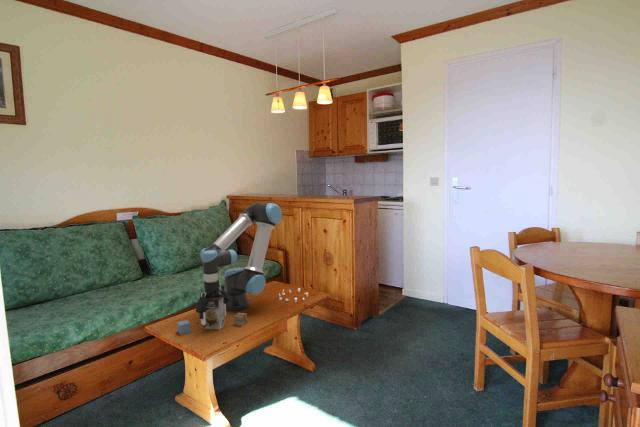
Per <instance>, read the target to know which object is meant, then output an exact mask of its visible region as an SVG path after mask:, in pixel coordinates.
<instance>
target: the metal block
mask: <svg viewBox="0 0 640 427" xmlns="http://www.w3.org/2000/svg"><path fill="white" fill-rule="evenodd" d="M247 323H248V314H247V313H244V312H237V313H236V314H235V315H233V325H234V326H239V327H244V326H245V325H246V324H247Z"/></svg>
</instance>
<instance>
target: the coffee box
mask: <svg viewBox="0 0 640 427" xmlns="http://www.w3.org/2000/svg"><path fill="white" fill-rule="evenodd" d="M207 298H208V297H207ZM204 312H205V320H206V325H203V329H204V330H221V329H222V328H223V327H224V326H225V316H224V305H223V296H222V295H221V296H220V297H219V296H216V297H215V298H212V299H211V300H210V301H209V302H208V304H207V306H206V308H205V310H204Z"/></svg>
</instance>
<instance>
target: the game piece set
mask: <svg viewBox="0 0 640 427" xmlns="http://www.w3.org/2000/svg"><path fill="white" fill-rule="evenodd" d="M297 292H299V293H301V287H298V288H297ZM289 293H292V290H289ZM281 294H282V295H283V296H284V295H285V294H286V293H285V290H284V288H283V289H282V293H278V295H279V296H278V297H279V298H278V299H279V301H282V300H283V297H281V296H282V295H281ZM304 295H306V297H309V292H308V291H307V292H304ZM297 300H298V297H294V303H296V302H298V301H297ZM302 300H303V301H304V300H305V297H304V296H303V297H302ZM285 302H289V299H288V298H285Z"/></svg>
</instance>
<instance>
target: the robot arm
mask: <svg viewBox="0 0 640 427" xmlns="http://www.w3.org/2000/svg"><path fill="white" fill-rule="evenodd" d="M282 216H283V213H282V210H281V207H280V206H279V205H278V204H276V203H271V202H266V203H265V202H256V203H252V204H251V205H250V206H248V207H247V208H245V209H244V210H243V211H242V212H240V214H239V215H238V218H237V219H236V220H235V221H234V222H233V223H232V224H231V225H230V226H229V227H228V228H227V229H226V230H225V231H224V232H223V233H222V234H221V235H220V236H219V237H218V238H217V239H216V240H215V241H214V242H213V243H212V244H211V245H210V246H209V247H204V248H203V249H202V250H201V251H200V253H199V254H200V259H201V262H202V271H203V272H202V274H203V281H204V282H203V287H204V292H200V293H199V299H198V301H197V305H196V308H195V313H197V314H198V315H199V319H200V324H201V325H203V326H204V325H206V320H205V312H204V310H205V308H206V306H207V304H208V302H209V301H210V300H211V299H212V298H215V297H216V296H219V297H220V296H223V305H224V317H226V316H227V311H230V312H234V311H235V312H236V311H241V310H244V309H246V308H248V307H249V306H250V300H249V299H248V295H253V296H255V295H260V294H261V292H263V290H264V288H265V286H266V285H267V284H266V283H267V280H266V278H265V276H264V273H265V272H264V271H263V267H264V264H265V263H264V262H265V259H266V254H267V250H268V247H269V243H270V240H271V235H272V230H274V229H275V228H276V226H277V224H279V223H280V222H281V221H282V219H283V218H282ZM254 224H256V226H257V228H256V232H255V236H254V241H253V244H252V247H251V251H250V255H249V259H248V262H247V265H246V266H245V267H232V268H230V269H227V270H225V272H224V285H223V286H222V285H220V280H219V279H220V275H219V274H220V273H219V268H220V267H224V266H228V265H232V264H234V263H236V262H237V260H238V254H237V252H236V251H235V250H234V249H228V248H229V247H230V246H231V245H232V244H233V242H235V241H236V240H237V239H238V237H240V236H241V234H243V233H244V231H245V230H246V229H247V228H249V227H251V226H253V225H254ZM226 249H227V250H226ZM224 286H225V287H224ZM247 294H248V295H247ZM207 297H208V298H207Z"/></svg>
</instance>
